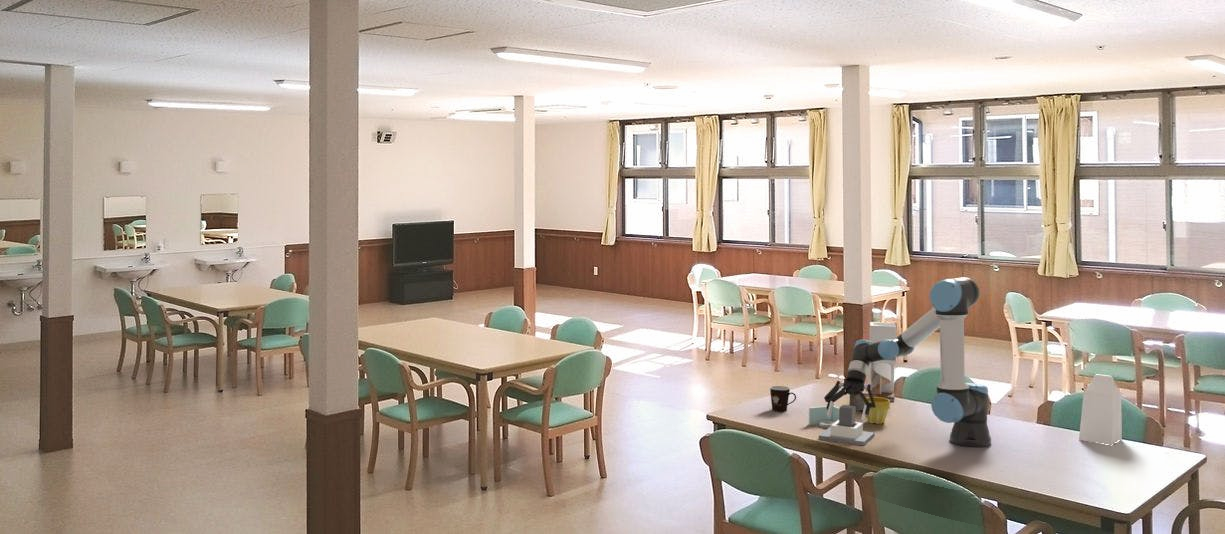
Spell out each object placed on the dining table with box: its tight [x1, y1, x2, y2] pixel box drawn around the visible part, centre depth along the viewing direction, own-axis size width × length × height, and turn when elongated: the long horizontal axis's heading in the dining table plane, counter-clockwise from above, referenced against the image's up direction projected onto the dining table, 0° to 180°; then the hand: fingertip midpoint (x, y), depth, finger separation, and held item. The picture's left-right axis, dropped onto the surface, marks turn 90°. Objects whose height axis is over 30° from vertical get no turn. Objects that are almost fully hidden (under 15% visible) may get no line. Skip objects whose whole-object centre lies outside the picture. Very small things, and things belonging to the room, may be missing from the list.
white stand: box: [868, 321, 897, 402], centre depth 442 cm, size 11×11×35 cm
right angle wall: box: [808, 405, 840, 429], centre depth 393 cm, size 12×12×8 cm
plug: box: [838, 404, 856, 427], centre depth 376 cm, size 5×5×11 cm
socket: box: [818, 420, 875, 447], centre depth 377 cm, size 18×15×6 cm
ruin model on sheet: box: [849, 392, 876, 411], centre depth 421 cm, size 11×3×10 cm, turn 74°
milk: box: [1078, 373, 1123, 445], centre depth 372 cm, size 12×12×26 cm
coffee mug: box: [769, 385, 797, 413], centre depth 420 cm, size 12×9×10 cm
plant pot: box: [864, 397, 891, 425], centre depth 400 cm, size 10×10×10 cm
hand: (845, 418), depth 374 cm, fingers open, 13 cm apart
